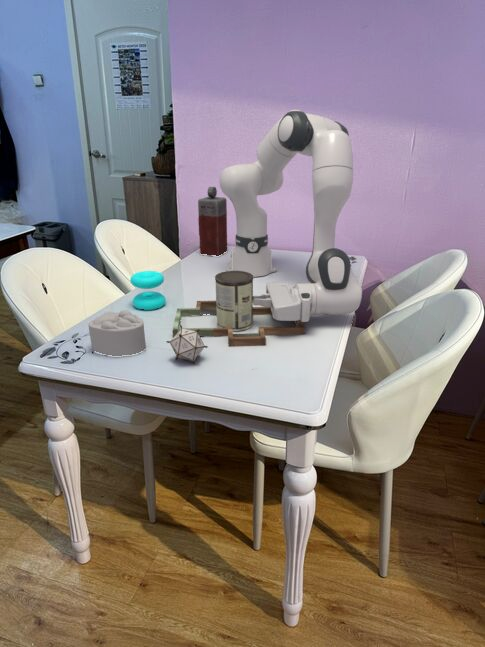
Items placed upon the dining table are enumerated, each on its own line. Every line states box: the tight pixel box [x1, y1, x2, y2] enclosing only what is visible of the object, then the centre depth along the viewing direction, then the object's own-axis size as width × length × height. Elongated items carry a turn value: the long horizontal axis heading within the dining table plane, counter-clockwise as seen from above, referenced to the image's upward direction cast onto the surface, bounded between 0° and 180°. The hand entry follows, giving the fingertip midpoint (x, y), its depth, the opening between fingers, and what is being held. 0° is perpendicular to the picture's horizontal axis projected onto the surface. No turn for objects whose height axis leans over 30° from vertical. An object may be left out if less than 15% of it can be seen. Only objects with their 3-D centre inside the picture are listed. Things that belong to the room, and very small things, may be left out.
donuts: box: [129, 270, 167, 311], centre depth 138 cm, size 10×10×10 cm
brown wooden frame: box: [172, 300, 306, 347], centre depth 126 cm, size 27×35×2 cm
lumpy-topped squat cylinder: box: [88, 309, 147, 356], centre depth 112 cm, size 10×13×9 cm
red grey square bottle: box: [197, 186, 228, 256], centre depth 191 cm, size 9×11×28 cm
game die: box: [165, 324, 209, 365], centre depth 106 cm, size 9×8×10 cm
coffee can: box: [214, 270, 254, 332], centre depth 124 cm, size 10×10×14 cm
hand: (252, 300), depth 124 cm, fingers closed, pressing on coffee can
